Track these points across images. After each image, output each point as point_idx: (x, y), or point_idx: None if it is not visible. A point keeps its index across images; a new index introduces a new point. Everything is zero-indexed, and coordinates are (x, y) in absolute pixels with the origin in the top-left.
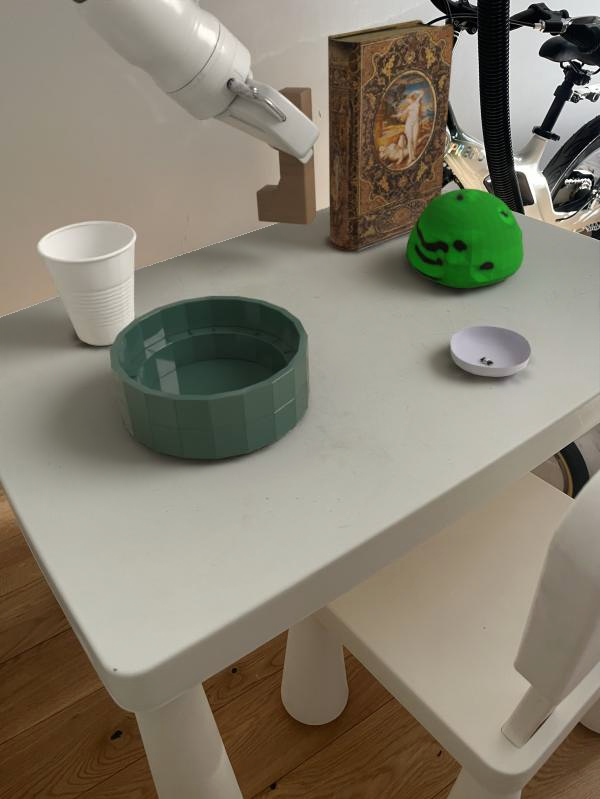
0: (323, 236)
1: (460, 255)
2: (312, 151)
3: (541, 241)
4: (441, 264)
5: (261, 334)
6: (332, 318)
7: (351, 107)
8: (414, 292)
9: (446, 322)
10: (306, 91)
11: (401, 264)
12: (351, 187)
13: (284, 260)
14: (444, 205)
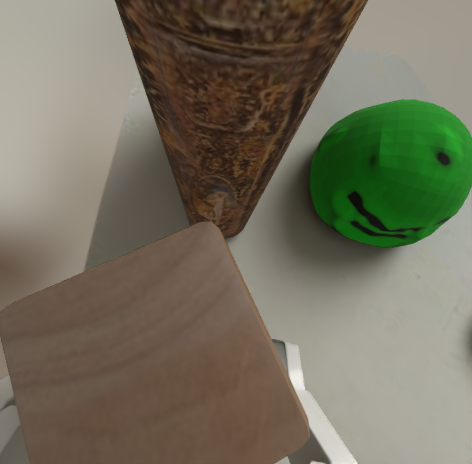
0: (175, 221)
1: (435, 226)
2: (298, 347)
3: (370, 82)
4: (402, 237)
5: None
6: (350, 388)
7: (297, 108)
8: (366, 267)
9: (434, 298)
10: (259, 316)
11: (306, 220)
12: (250, 207)
13: None
14: (425, 182)
